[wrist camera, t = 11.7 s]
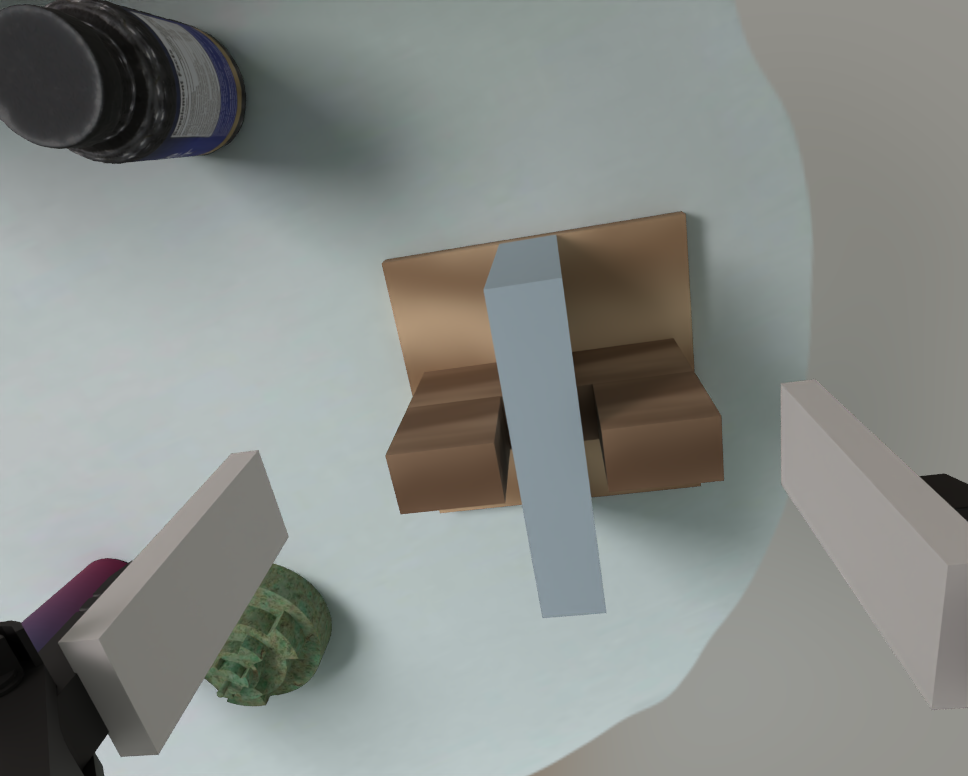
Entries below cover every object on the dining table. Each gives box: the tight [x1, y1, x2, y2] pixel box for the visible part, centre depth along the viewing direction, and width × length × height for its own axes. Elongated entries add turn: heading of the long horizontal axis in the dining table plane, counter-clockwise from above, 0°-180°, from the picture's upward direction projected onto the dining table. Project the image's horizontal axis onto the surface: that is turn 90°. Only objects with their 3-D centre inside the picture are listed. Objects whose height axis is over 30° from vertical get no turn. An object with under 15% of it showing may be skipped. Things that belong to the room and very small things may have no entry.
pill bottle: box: [0, 0, 246, 164], centre depth 28 cm, size 6×6×11 cm
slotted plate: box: [484, 235, 606, 618], centre depth 32 cm, size 16×3×10 cm, turn 10°
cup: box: [21, 558, 128, 652], centre depth 39 cm, size 7×7×15 cm
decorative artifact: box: [204, 564, 332, 706], centre depth 43 cm, size 10×7×10 cm
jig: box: [382, 211, 724, 514], centre depth 32 cm, size 16×16×11 cm
